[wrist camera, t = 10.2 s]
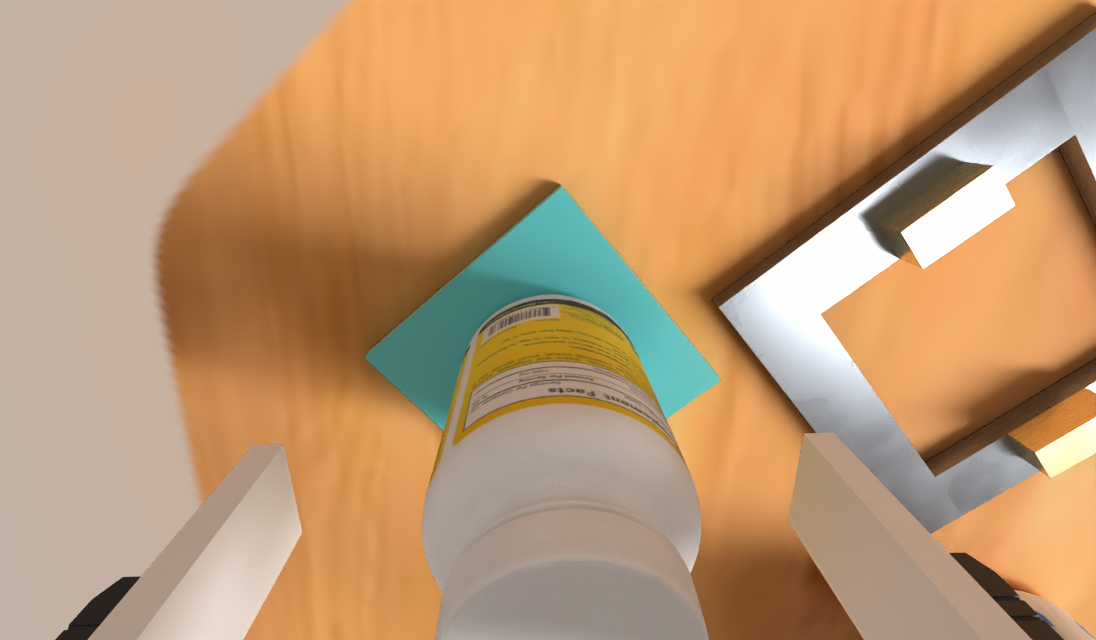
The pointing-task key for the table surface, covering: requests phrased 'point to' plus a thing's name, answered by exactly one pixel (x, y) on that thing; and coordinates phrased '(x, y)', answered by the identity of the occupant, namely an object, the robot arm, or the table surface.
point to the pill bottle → (560, 488)
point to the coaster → (529, 270)
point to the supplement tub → (1055, 617)
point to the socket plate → (921, 238)
